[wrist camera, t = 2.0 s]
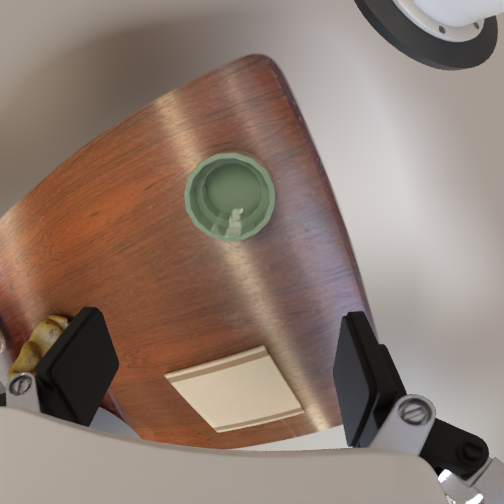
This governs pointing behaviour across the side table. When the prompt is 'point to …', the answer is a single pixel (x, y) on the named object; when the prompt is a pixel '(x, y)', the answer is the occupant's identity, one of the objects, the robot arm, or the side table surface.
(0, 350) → the fossil
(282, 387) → the cloth
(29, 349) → the decorative figurine
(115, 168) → the side table surface
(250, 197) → the bowl
